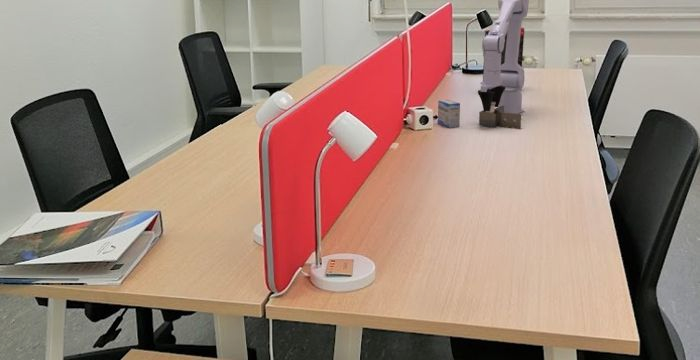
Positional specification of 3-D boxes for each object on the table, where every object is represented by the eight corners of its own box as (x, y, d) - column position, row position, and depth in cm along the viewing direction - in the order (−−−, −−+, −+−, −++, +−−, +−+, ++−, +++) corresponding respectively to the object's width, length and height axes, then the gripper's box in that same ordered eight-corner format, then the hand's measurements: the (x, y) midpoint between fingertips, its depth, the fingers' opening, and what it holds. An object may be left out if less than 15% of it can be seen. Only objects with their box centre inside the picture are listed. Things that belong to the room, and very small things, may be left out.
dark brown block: (495, 118, 281) (495, 104, 280) (510, 119, 278) (511, 106, 277) (479, 125, 270) (479, 112, 269) (495, 127, 267) (495, 113, 266)
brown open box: (486, 122, 275) (486, 108, 274) (523, 126, 268) (524, 112, 266) (479, 125, 270) (479, 112, 269) (516, 130, 263) (517, 116, 261)
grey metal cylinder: (487, 123, 274) (487, 100, 271) (496, 124, 272) (497, 101, 269) (482, 125, 271) (483, 102, 268) (492, 126, 269) (492, 103, 266)
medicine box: (437, 123, 275) (437, 100, 272) (448, 122, 277) (448, 98, 274) (449, 128, 268) (449, 104, 266) (459, 126, 270) (460, 102, 267)
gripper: (490, 66, 273) (489, 103, 277) (472, 72, 262) (471, 111, 266) (508, 67, 269) (507, 105, 273) (491, 74, 258) (490, 113, 262)
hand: (491, 108), depth 269 cm, fingers open, 7 cm apart
